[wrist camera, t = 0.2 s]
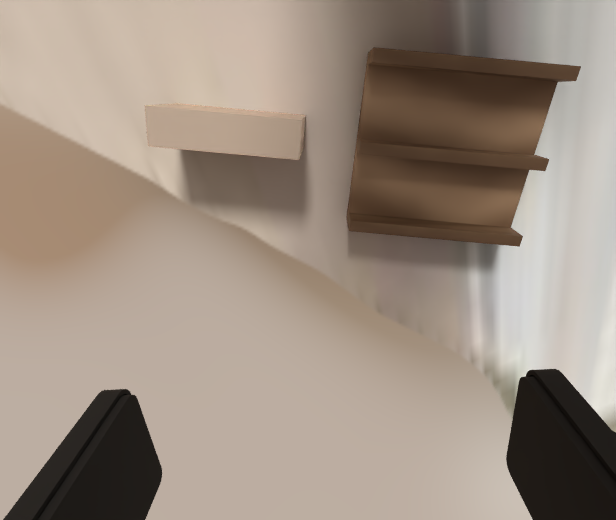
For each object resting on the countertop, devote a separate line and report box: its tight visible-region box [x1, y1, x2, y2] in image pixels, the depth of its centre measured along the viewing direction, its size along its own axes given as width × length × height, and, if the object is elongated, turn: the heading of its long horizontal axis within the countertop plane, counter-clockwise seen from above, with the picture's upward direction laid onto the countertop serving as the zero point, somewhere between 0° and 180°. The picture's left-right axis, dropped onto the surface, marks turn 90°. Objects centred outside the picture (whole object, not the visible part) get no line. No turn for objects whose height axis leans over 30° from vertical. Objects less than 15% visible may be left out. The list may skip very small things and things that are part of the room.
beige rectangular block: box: [145, 103, 306, 160], centre depth 32 cm, size 3×12×7 cm, turn 85°
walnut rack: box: [347, 48, 581, 246], centre depth 34 cm, size 15×16×4 cm
